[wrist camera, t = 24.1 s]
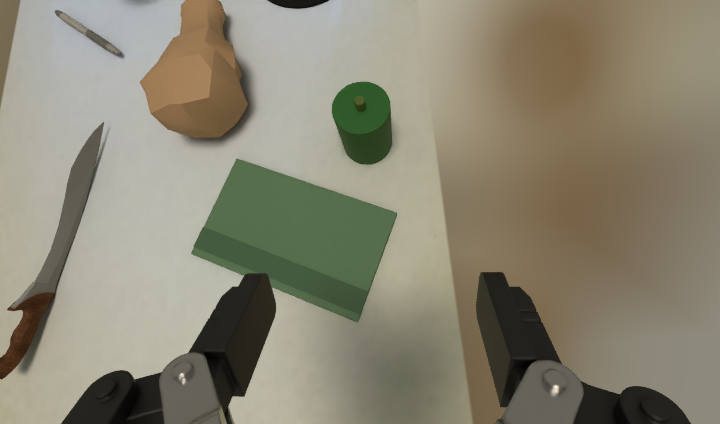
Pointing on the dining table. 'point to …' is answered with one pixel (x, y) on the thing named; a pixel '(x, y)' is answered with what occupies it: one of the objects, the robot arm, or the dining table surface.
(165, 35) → the dining table surface
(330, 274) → the towel
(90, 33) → the pen
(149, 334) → the dining table surface
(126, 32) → the dining table surface
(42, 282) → the knife
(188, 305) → the dining table surface
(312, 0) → the phone display stand
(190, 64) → the squash
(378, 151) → the green knobbed canister
